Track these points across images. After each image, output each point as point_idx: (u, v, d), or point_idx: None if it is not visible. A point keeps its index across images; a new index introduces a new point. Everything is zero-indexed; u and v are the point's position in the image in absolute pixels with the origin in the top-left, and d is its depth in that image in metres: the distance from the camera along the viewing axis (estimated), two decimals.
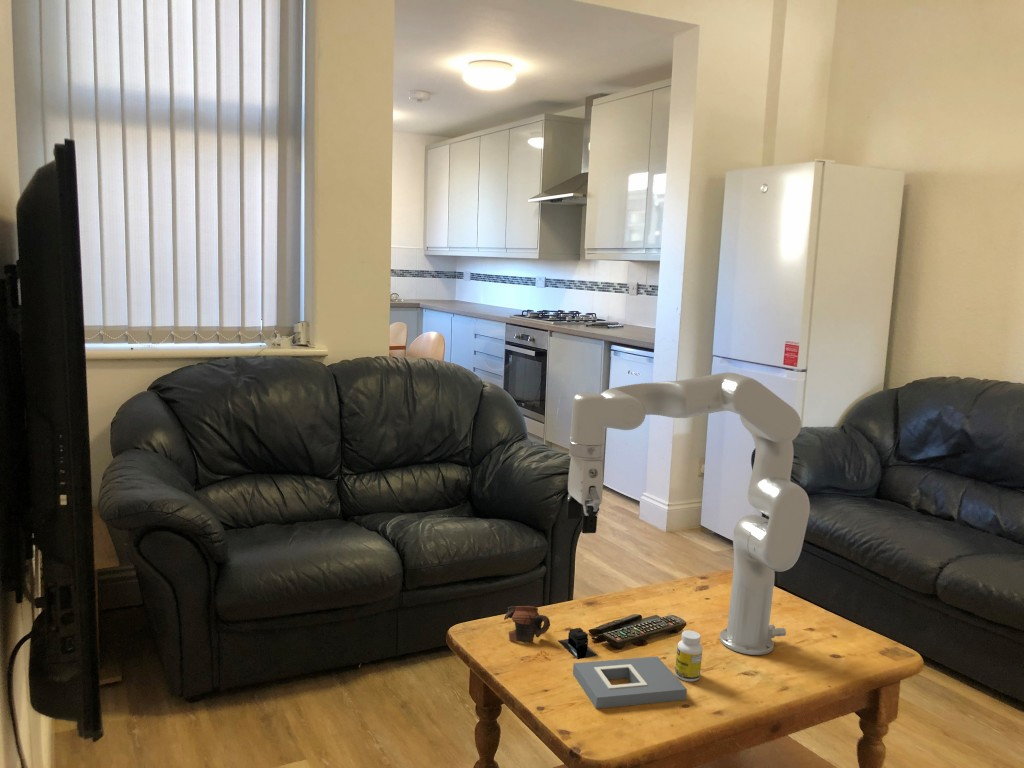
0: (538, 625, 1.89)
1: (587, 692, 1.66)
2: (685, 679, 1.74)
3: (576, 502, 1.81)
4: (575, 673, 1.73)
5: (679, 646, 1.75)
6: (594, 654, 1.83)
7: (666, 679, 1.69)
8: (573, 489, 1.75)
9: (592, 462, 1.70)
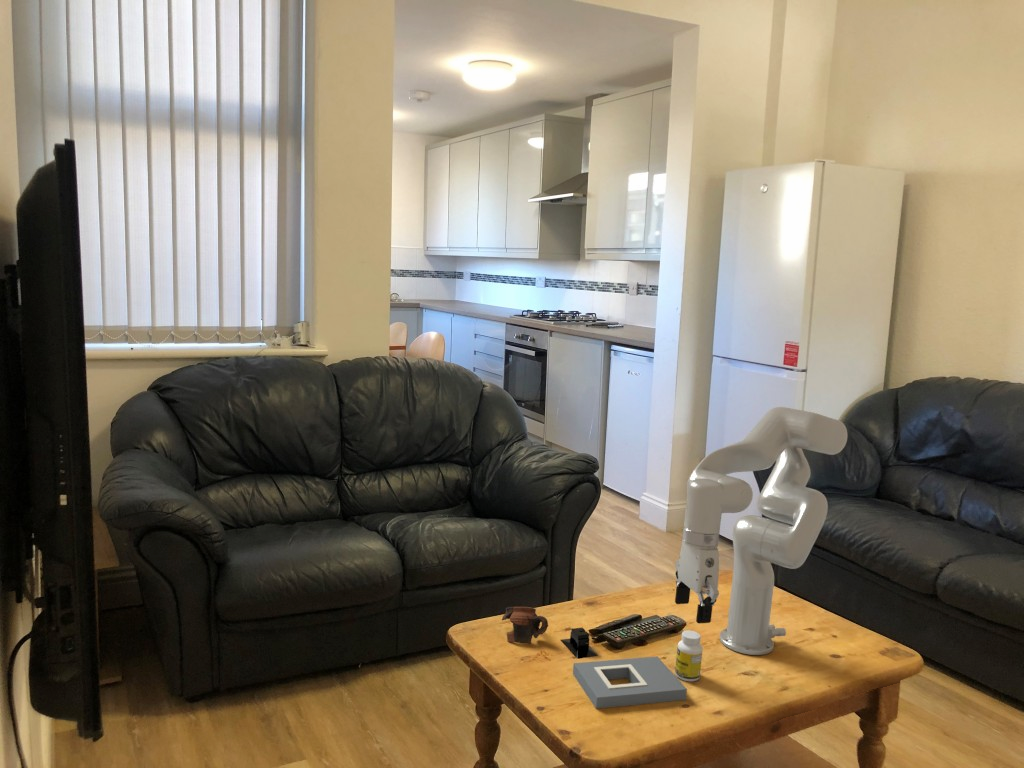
0: (536, 626, 1.88)
1: (587, 692, 1.66)
2: (685, 679, 1.74)
3: (685, 587, 1.77)
4: (575, 673, 1.73)
5: (679, 646, 1.75)
6: (595, 654, 1.83)
7: (666, 679, 1.69)
8: (686, 576, 1.72)
9: (709, 551, 1.67)
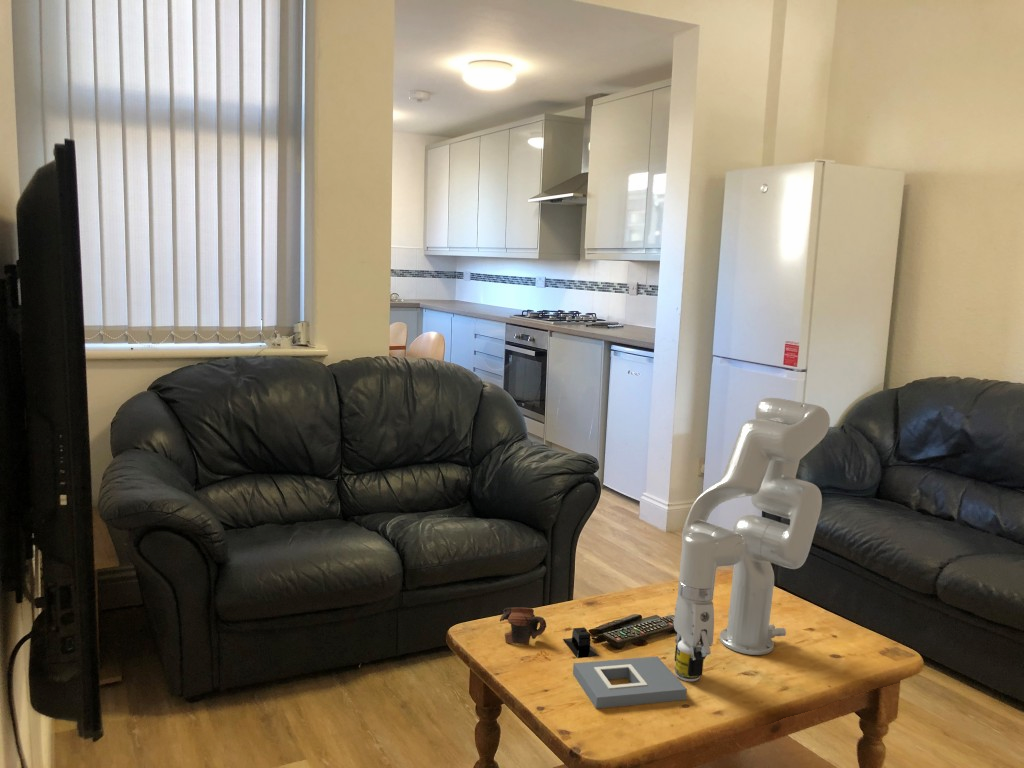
0: (534, 626, 1.88)
1: (587, 692, 1.66)
2: (685, 679, 1.74)
3: None
4: (575, 673, 1.73)
5: (679, 646, 1.75)
6: (596, 654, 1.83)
7: (666, 679, 1.69)
8: (682, 629, 1.74)
9: (704, 606, 1.69)
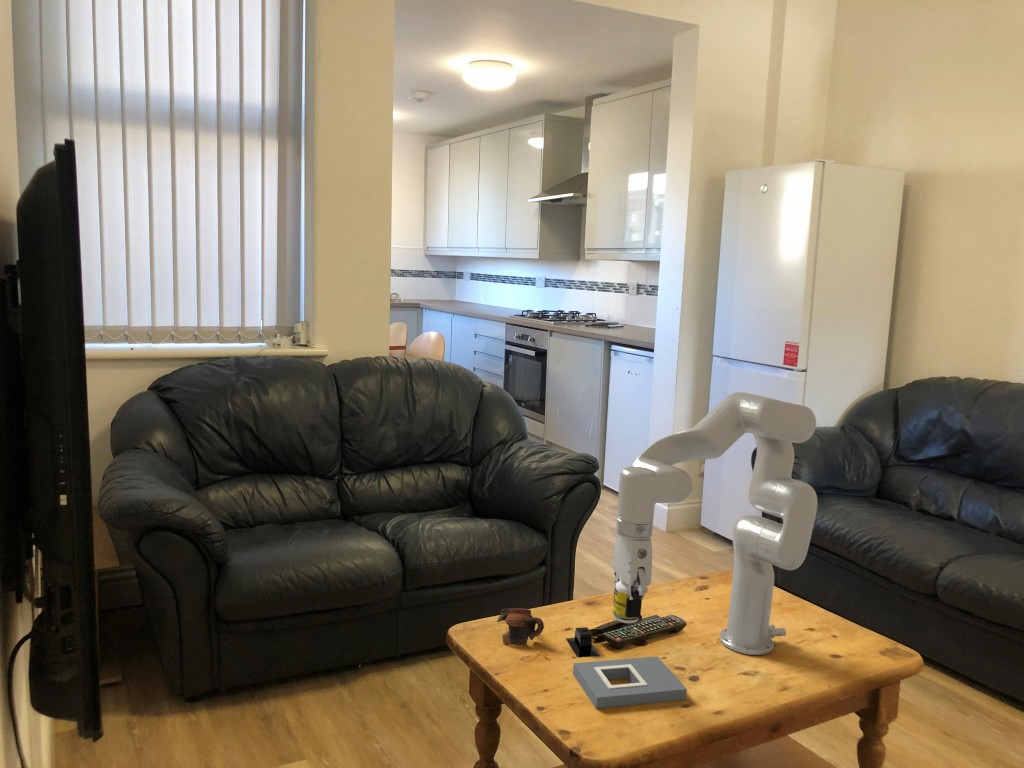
0: (532, 627, 1.87)
1: (587, 692, 1.66)
2: (623, 621, 1.65)
3: None
4: (575, 673, 1.73)
5: (617, 586, 1.66)
6: (596, 655, 1.83)
7: (666, 679, 1.69)
8: (620, 568, 1.65)
9: (641, 542, 1.60)
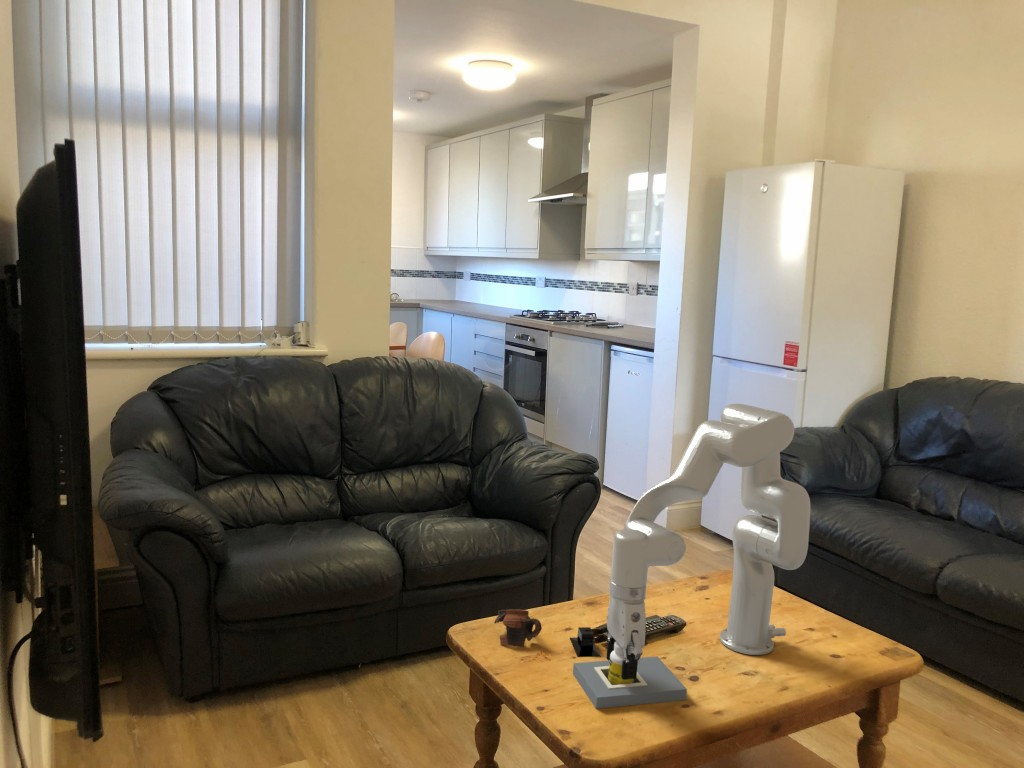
0: (529, 628, 1.87)
1: (587, 692, 1.66)
2: None
3: None
4: (575, 673, 1.73)
5: (611, 656, 1.68)
6: (597, 655, 1.83)
7: (666, 679, 1.69)
8: (614, 630, 1.67)
9: (634, 606, 1.62)
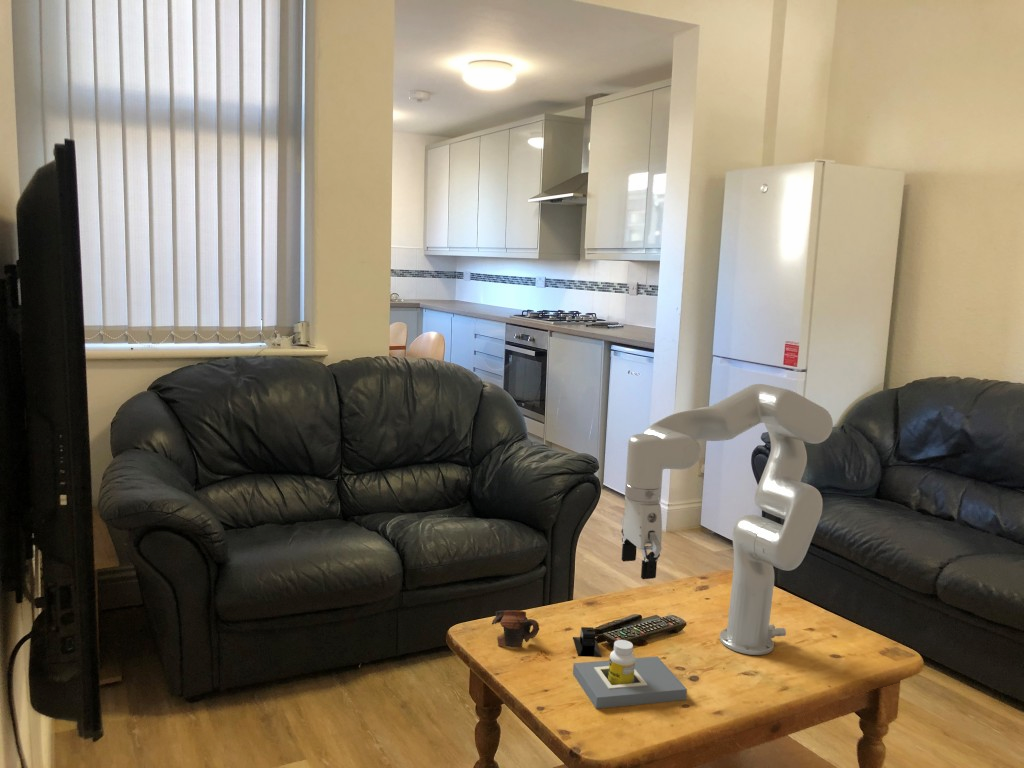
0: (527, 629, 1.86)
1: (587, 692, 1.66)
2: None
3: (631, 544, 1.76)
4: (575, 673, 1.73)
5: (611, 656, 1.68)
6: (598, 655, 1.83)
7: (666, 679, 1.69)
8: (630, 533, 1.70)
9: (651, 506, 1.65)
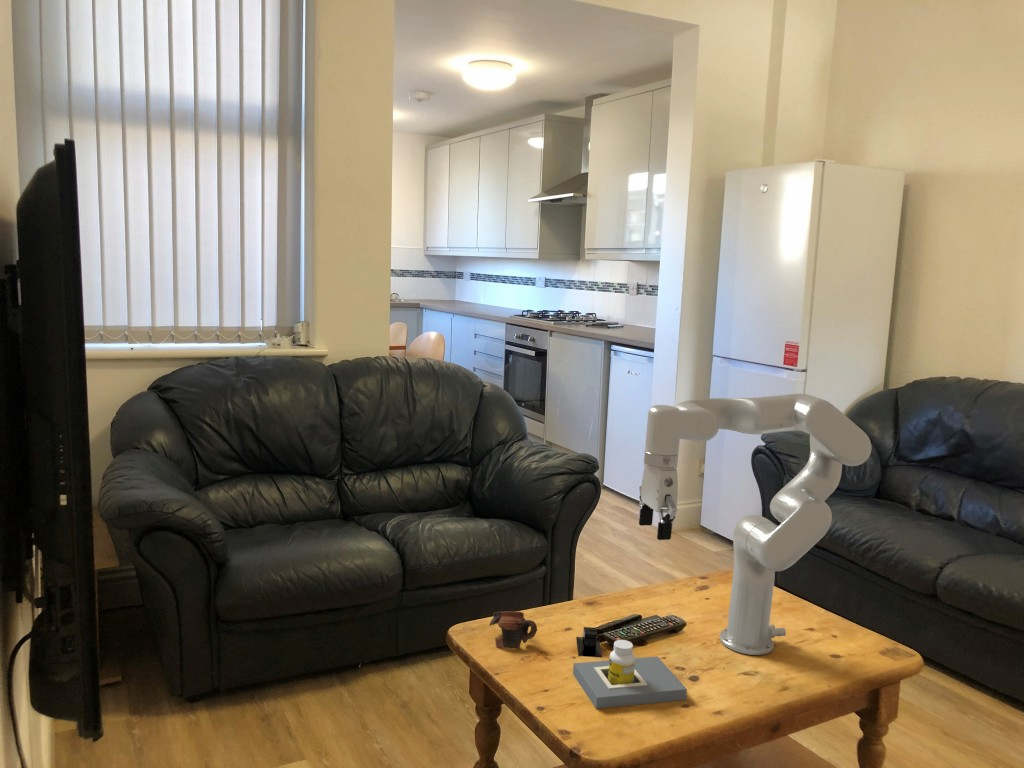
0: (525, 630, 1.86)
1: (587, 692, 1.66)
2: None
3: (648, 509, 1.88)
4: (575, 673, 1.73)
5: (611, 656, 1.68)
6: (599, 655, 1.83)
7: (666, 679, 1.69)
8: (648, 497, 1.82)
9: (668, 472, 1.78)
